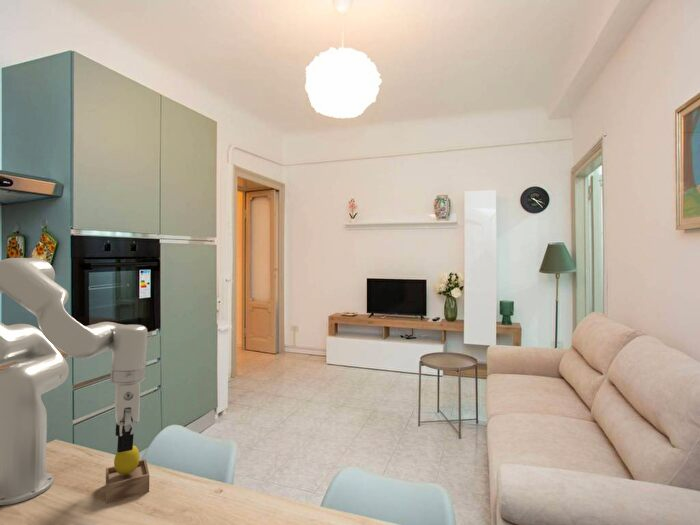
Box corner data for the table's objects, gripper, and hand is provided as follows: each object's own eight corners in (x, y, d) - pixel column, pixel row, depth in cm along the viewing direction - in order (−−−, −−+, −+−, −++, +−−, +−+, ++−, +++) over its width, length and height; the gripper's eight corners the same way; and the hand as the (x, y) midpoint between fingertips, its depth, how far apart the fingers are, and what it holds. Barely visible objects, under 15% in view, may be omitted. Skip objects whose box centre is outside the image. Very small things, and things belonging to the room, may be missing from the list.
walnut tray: (106, 503, 91) (106, 485, 91) (105, 484, 99) (105, 468, 99) (149, 491, 96) (149, 474, 96) (145, 474, 104) (145, 458, 104)
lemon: (127, 483, 94) (128, 450, 94) (108, 480, 95) (109, 447, 95) (144, 471, 100) (144, 440, 100) (125, 468, 101) (126, 437, 101)
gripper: (148, 382, 92) (144, 454, 92) (141, 364, 107) (137, 426, 107) (111, 386, 88) (106, 461, 88) (109, 367, 102) (105, 431, 102)
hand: (123, 442), depth 97 cm, fingers open, 9 cm apart
